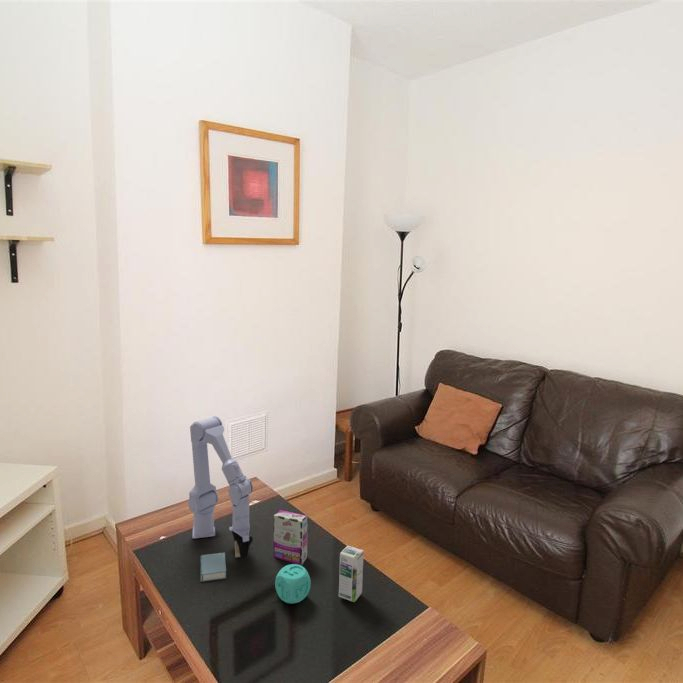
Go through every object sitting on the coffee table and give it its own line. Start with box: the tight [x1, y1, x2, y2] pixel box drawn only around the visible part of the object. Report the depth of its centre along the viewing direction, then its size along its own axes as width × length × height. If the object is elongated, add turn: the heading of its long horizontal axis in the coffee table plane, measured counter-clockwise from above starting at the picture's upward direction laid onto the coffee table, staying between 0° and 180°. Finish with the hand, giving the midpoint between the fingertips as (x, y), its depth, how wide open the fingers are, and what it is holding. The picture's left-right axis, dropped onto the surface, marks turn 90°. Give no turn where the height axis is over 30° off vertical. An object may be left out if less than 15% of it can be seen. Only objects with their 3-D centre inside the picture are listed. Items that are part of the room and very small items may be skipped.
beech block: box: [234, 541, 241, 558], centre depth 169 cm, size 4×4×5 cm
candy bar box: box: [272, 509, 309, 566], centre depth 168 cm, size 11×5×16 cm, turn 68°
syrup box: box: [338, 545, 364, 603], centre depth 150 cm, size 6×6×14 cm
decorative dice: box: [274, 563, 312, 604], centre depth 149 cm, size 8×8×8 cm
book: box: [199, 552, 227, 583], centre depth 161 cm, size 11×8×3 cm
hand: (241, 550), depth 169 cm, fingers open, 7 cm apart
